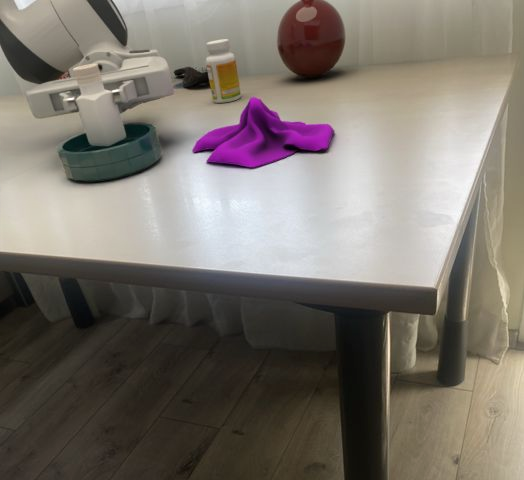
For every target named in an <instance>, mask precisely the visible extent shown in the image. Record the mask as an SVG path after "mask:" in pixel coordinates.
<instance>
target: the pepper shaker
mask: <svg viewBox="0 0 524 480" xmlns="http://www.w3.org/2000/svg"><path fill="white" fill-rule="evenodd" d="M72 71H73V74H74V77H76V80H77V84H78V85H79V88H80V91H81V95H80V96H79V97H78V98H77V99H76V105H77V107H78V110H79V112H78V113H79V117H80V120H81V123H82V126H83V129H84V132H86V135H87V138H88V141H89V143H90V145H93V146H111V145H113V144H115V143H117V142H119V141H121V140H123V139H125V138H126V133H125V129H124V126H123V124H124V123H123V119H122V115H121V114H120V112H119V108H118V105H116V104H115V101H114V99H115V98H114V97H113V94H112V91H109V90H105V89H104V86H103V83H102V77H101V75H100V71H99V67H98V64H88V65H83V66H79V67H78V66H76V67H74V68H73V69H72Z"/></svg>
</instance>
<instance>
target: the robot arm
mask: <svg viewBox="0 0 524 480" xmlns="http://www.w3.org/2000/svg"><path fill="white" fill-rule="evenodd" d="M128 33H129V32H128V27H127V23H126V22H125V20H124V17H123V16H122V14H121V12H120V10H119V9H118V7H117V5H116V4H115V2H114V1H113V0H34V1H32V2H31V3H30V4H29V5H27V6H26V7H25V8H23V9H19V7H18V6H17V2H16V1H15V0H0V48H1V51H2V53H3V54H4V57H5V58H6V60H7V63H8V64H9V66H10V67H11V69H12V70H14V72H15V73H16V75H18V77H20V78H21V79H22V80H24V81H26V82H29V83H31V84H35V85H36V86H33V87H31V88H30V89H28V90H27V91H26V92H25V99H26V101H27V105H28V107H29V109H30V112H31V114H32V116H33V117H34V118H35V119H39V120H42V119H46V118H53V117H59V116H65V115H69V114H70V115H71V114H74V113H79V110H78V107H77V105H76V99H77V98H78V97H79V96H80V95H81V91H80V88H79V85H78V84H77V80H76V77H75V76H71V78H66V79H60V80H57V79H59V78H60V77H61V76H62V75H63V74H64V73H66V71H67V70H70V69H72V68H73V67H74V66H76V65H78V66H77V67H79V66H83V65H88V64H98V67H99V71H100V75H101V77H102V83H103V86H104V89H105V90H109V91H112V94H113V97H114V98H115V99H114V101H115V104H116V105H118V108H119V112H120V115H121V114H124V113H125V112H126V111H128V110H131V109H133V108H135V107H137V106H140V105H142V104H146V103H149V102H152V101H153V102H154V101H156V100H160V99H164V98H166V97H169V96H173V95H174V94H175V89H174V84H173V78H172V75H171V74H172V73H171V71H170V67H169V66H170V65H169V62H168V61H167V60H166V58H164V57H162V56H161V55H160V53H159V51H158V49H140V50H139V49H138V50H133V49H132V48H131V46H130V45H129V44H128V38H129V37H128V36H129V34H128Z"/></svg>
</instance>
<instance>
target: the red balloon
mask: <svg viewBox="0 0 524 480" xmlns="http://www.w3.org/2000/svg"><path fill="white" fill-rule="evenodd" d="M345 45H346V28H345V23H344V20H343V18H342V15H341V14H340V12H339V11H338V10H337V8H336V7H335V6H334V5H333V4H331V2H328V1H327V0H298V1H296V2H295V3H293V4H291V6H290V7H289V8H288V9H287V10H286V11H285V13H283V15H282V17H281V19H280V21H279V24H278V27H277V32H276V47H277V52H278V54H279V58H280V59H281V61H282V63H283V64H284V66H285V67H286V68H287V69H288V70H289V71H290V72H291V73H292V74H294V75H296V76H299V77H302V78H309V79H312V78H317V77H320V76H324V75H325V74H327V73H328V72H330V71H331V70H332V69H334V67H335V66H336V65H337V63H338V62H339V61H340V59H341V57H342V54H343V52H344V49H345Z"/></svg>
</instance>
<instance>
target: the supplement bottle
mask: <svg viewBox="0 0 524 480" xmlns="http://www.w3.org/2000/svg"><path fill="white" fill-rule="evenodd" d="M229 40H230V39H228V38H223V39H216V40H212V41H208V42H206V49H207V52H208V54H209V55H208V56H207V57H206V59H205V65H206V67H207V68H206V70H207V71H206V72H208V76H209V82H208V83H209V88H210V92H211V97H212V101H213V102H214V103H215V104H224V103H230V102H234V101H237V100H239V99H240V98H241V97H242V94H241V87H240V81H239V74H238V66H237V60H236V56H235V54H234V53H232V52H230V48H231V47H230V41H229Z"/></svg>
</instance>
